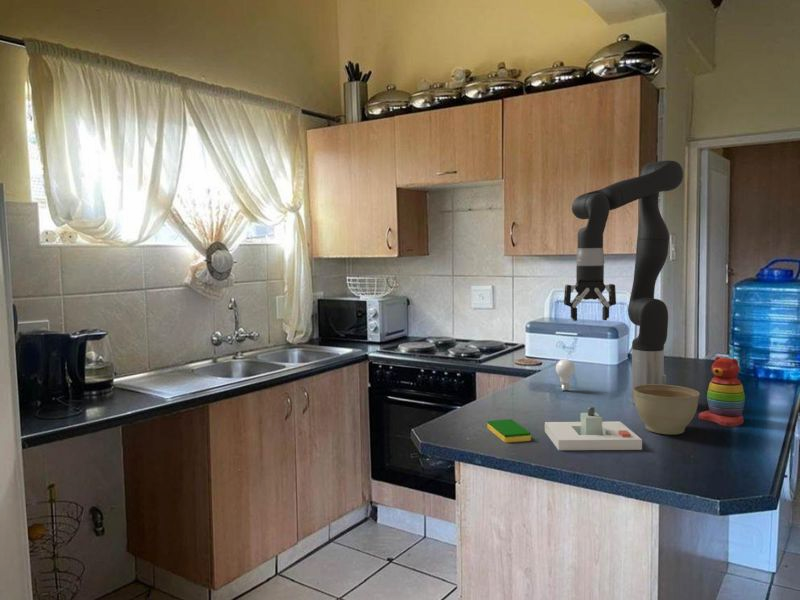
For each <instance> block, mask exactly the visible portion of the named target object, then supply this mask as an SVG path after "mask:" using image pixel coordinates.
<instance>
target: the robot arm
mask: <svg viewBox="0 0 800 600" xmlns="http://www.w3.org/2000/svg"><path fill="white" fill-rule="evenodd" d="M683 178H684V170H683V167H682V166H681V164H680V163H679V162H677V160H676V161H675V160H660V161H659V160H658V161H653V162H649V163H648V162H647V163H646V164H645V165H644V166H643V167H642V168H641V171H640V175H639V176H635V177H631V178H628V179H624V180H620V181H617V182H615V183H613V184H609V185H607V186H605V187H603V188H600V189H597V190H593V191H590V192H586V193H583V194H581V195H580V194H579V196H577V197H575V199H574V200H573V202H572V204H571V211H572V212H571V213H572V214H573V215H574V217H576V218H577V219H580V220H587V224H586V225H585V226H584V227H582V228H580V229H578V231H577V248H576V249H577V252H576V268H575V269H576V270H575V271H576V277H575V278H576V280H575V281H576V282H575V285H571V284H565V285H564V296H563V297H564V299H563V305H565V306H567V307H570V318H571V320H572V321H574V322H576V321H578V308H577V306H578V305H579V303H581V302H582V301H583V300H585V301H587V300H598V301H599V302H600V304H601V305H602V309H601V311H602V315H601V317H602V321H607V320H608V319H609V317H610V307H612V306H616V304H617V295H616V293H617V292H616V285H615V284H614V283H609V284H605V281H604V280H605V278H604V277H605V276H604V275H605V270H604V269H605V265H604V264H605V255H604V232H605V229H606V226H607V225H606V224H607V221H608V217H609V213H610V211H612V210H613V211H614V210H616V209H619V208H621V207H623V206H625V205H628V204H630V203H632V202H634V201H638V200H639V216H638V217H639V218H638V231H637V239H636V246H635V262H634V271H633V280H632V281H633V283H632V287H631V292H630V296H629V303H628V307H627V313H628V314H627V315H628V318H629V321H630V322H631V323H632V324H633V325H635V326H639V330H638V335H637V337H636V338H634V339H633V340H632V341H631V348H632V349H631V403H632V404H633V405H635V400H634V392H633V388H634V387H636V386H639V385H647V384H659V385H667V375H666V374H665V373H664V371H665V370H664V369H665V368H664V367H665V366H664V362H665V361H664V359H665V357H664V355H665V344H666V342H667V338H668V328H669V327H668V326H669V312H668V308H667V304H666V303H665V302H664V301H663V300H661V299H658V298H655V291H656V290H655V289H656V282H657V280H658V277H659V275H660V273H661V271H662V269H663V268H664V265H665V263H666V261H667V258H668V255H669V246H670V245H669V244H670V232H669V230H668V227H667V224H666V223H665V220H664V219H663V216H662V214H661V211H660V208H659V207H660V206H659V199H660V198H659V197H660V196H659V195H660V192H670V191H673V190H675V189H677V188H678V187H679V186H680V185H681V184H682V182H683ZM574 290H575V291H576V293H577V294H576V296H575V297H574V298H573V300H572V301H571V297H572V293H573V292H574ZM605 290H606V292H607V293H608V300H607V299H606V297H605V296H604V295H603V293H604V291H605Z"/></svg>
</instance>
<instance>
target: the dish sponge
mask: <svg viewBox="0 0 800 600" xmlns="http://www.w3.org/2000/svg"><path fill="white" fill-rule="evenodd" d="M486 424H487V429H488V430H489V431H490V432H492V433H493V435H495V436H497V438H499V439H500V440H501V441H503V442H504V443H519V442H528V441H529V442H530V441H531V440H532V434H531V432H530V431H528V430H527V429H526V428H525V427H523V426H522V425H520V423H518V422H516V421H514V420H513V419H510V418H509V419H508V418H507V419H496V420H488V421H487V423H486Z"/></svg>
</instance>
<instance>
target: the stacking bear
mask: <svg viewBox="0 0 800 600" xmlns="http://www.w3.org/2000/svg"><path fill="white" fill-rule="evenodd" d="M710 370H711V373H712V375H713V376H714V377H712V378H711V381H710V382H709V384H708V389H707V393H706V401H707V404H708V409H709V410H705V411H701V412H699V413H698V419H699V420H701V421H707V422H712V423H716V424H718V425H720V426H723V427H728V428H729V427H731V428H732V427H737V426H740V425H742V424H744V417H743V411H744V406H745V403H746V402H745V401H746V400H745V399H746V395H745V392H744V386H743V384H742V382H741V381H740V379H738V375H739V372H740V366H739V361H738V359H736V358H729V357H720V356H716V358H715V359H714V362H713V363H712V365H711V369H710Z"/></svg>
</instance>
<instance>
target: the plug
mask: <svg viewBox="0 0 800 600" xmlns="http://www.w3.org/2000/svg"><path fill="white" fill-rule="evenodd" d="M595 410H596V409H595V407H594V406H588V407H587V412H580V418H579V419H580V421H579V422H580V435H602V422H603V417H602V416H600V415H599V414H598V412H595Z"/></svg>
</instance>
